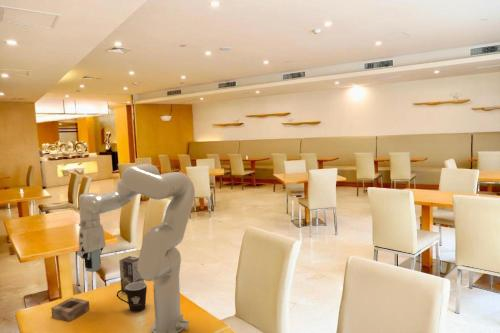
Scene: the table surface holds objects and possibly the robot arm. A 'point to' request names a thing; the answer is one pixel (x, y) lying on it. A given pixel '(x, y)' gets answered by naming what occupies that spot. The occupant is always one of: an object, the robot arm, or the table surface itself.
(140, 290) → the coffee mug
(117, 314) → the table surface
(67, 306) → the socket block
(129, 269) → the coffee box
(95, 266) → the peg
